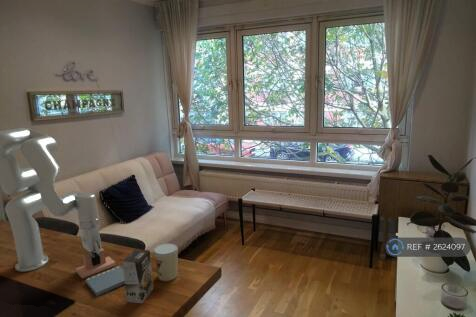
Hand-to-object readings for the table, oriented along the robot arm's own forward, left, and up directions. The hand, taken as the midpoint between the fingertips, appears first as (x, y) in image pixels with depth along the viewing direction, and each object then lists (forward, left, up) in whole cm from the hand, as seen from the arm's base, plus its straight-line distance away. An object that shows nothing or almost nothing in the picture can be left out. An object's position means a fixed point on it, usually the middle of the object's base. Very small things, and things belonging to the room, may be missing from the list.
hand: (95, 262), depth 140 cm
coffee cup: (+27, +19, -3) cm, 34 cm away
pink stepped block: (0, 0, -3) cm, 3 cm away
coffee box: (+31, +5, -3) cm, 32 cm away
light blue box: (+14, 0, -3) cm, 15 cm away
